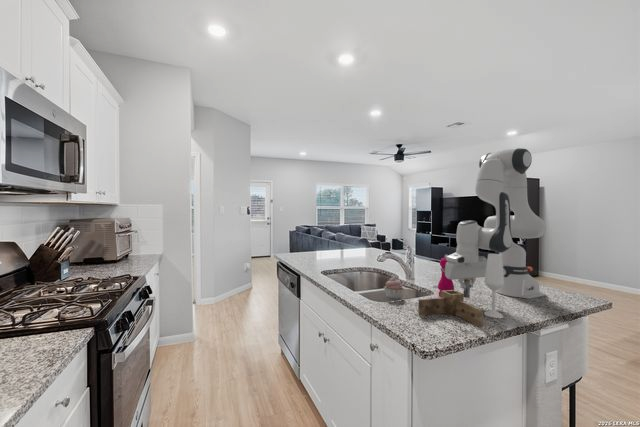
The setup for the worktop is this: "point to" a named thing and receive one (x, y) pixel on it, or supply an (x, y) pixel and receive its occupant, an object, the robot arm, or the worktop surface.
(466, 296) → the hinge pin
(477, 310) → the hinge
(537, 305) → the worktop surface
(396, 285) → the cupcake
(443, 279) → the pepper mill
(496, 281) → the champagne flute
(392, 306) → the worktop surface
